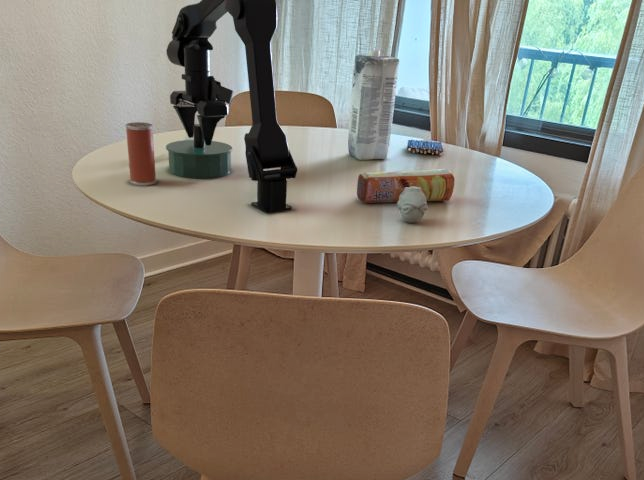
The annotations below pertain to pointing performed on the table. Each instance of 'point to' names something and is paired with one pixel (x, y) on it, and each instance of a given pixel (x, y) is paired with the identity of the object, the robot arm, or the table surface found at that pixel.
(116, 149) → the table surface
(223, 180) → the table surface
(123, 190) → the table surface
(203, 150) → the pot lid
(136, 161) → the tin can
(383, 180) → the snack package
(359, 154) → the juice carton
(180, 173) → the pot
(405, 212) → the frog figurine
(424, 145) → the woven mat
